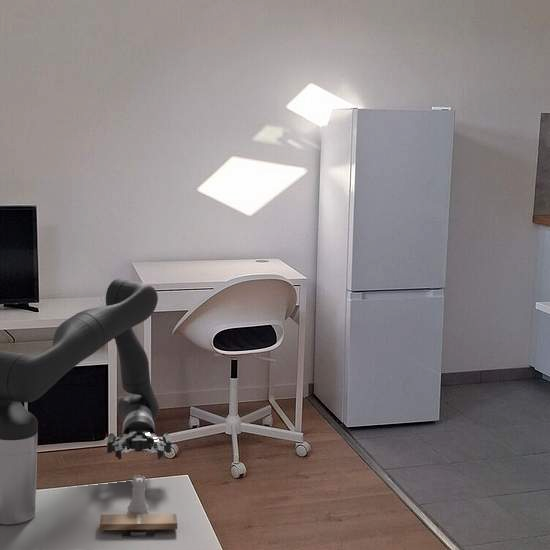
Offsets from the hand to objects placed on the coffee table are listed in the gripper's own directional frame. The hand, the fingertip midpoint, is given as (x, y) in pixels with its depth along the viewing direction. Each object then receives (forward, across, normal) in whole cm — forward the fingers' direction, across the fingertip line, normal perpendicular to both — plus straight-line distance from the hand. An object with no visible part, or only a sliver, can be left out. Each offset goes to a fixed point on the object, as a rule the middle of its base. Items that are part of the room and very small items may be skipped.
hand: (139, 454), depth 183 cm
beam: (+18, 0, +7) cm, 20 cm away
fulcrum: (+18, 0, +8) cm, 20 cm away
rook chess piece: (+12, 0, +9) cm, 14 cm away
